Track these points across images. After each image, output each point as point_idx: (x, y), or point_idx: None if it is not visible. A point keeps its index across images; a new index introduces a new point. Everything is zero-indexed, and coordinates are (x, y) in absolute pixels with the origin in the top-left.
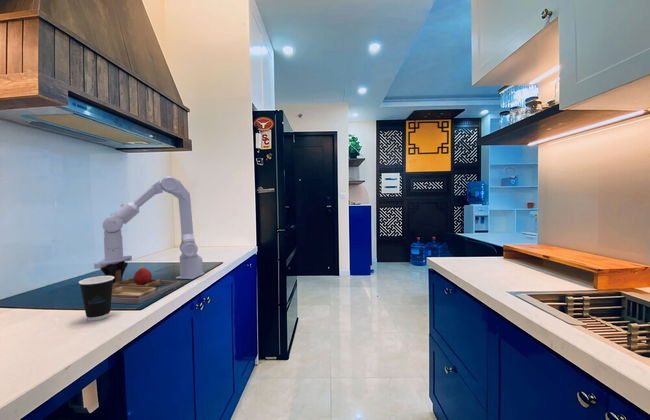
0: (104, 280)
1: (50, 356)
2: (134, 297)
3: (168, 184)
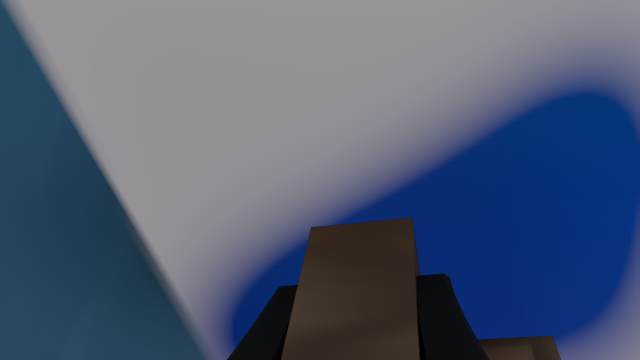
0: None
1: None
2: None
3: None
